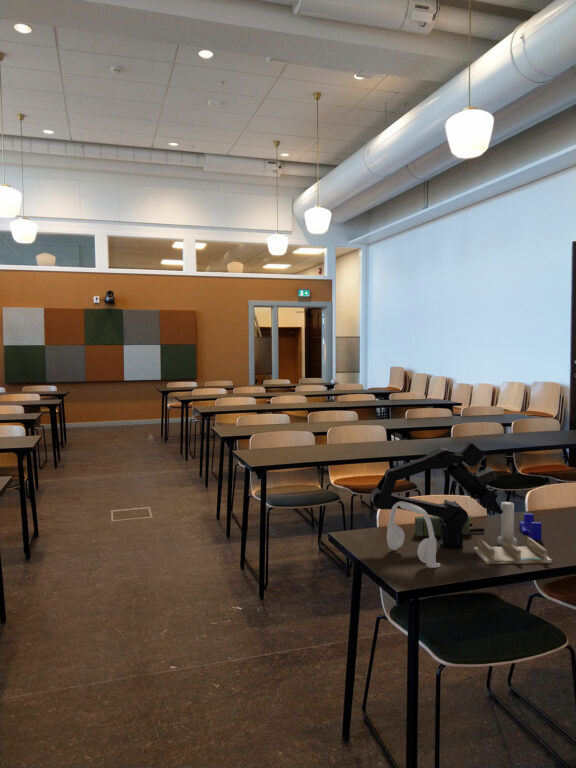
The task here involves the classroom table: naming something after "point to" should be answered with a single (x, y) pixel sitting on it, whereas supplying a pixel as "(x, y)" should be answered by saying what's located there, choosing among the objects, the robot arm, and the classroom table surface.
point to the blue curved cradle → (530, 527)
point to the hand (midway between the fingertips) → (496, 509)
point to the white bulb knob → (507, 523)
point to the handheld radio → (436, 524)
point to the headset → (397, 536)
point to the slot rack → (512, 553)
